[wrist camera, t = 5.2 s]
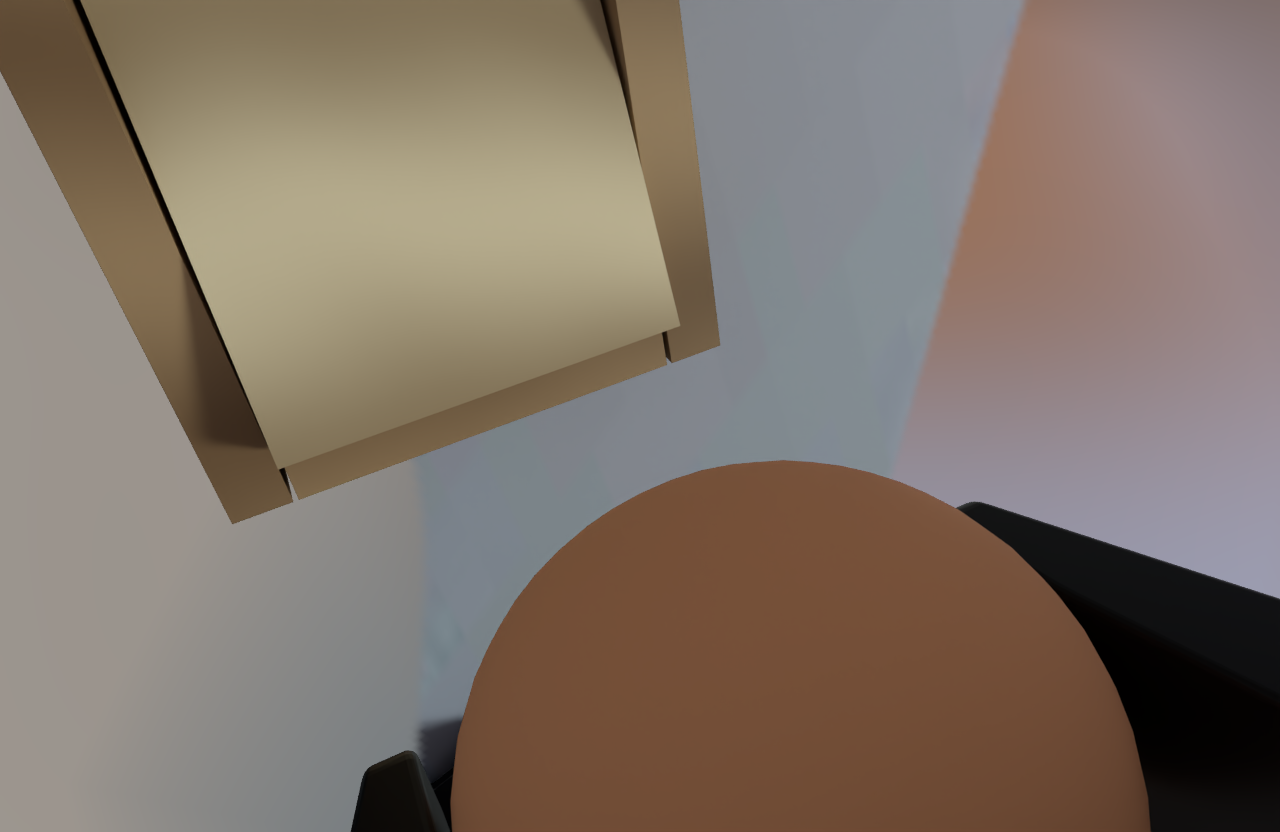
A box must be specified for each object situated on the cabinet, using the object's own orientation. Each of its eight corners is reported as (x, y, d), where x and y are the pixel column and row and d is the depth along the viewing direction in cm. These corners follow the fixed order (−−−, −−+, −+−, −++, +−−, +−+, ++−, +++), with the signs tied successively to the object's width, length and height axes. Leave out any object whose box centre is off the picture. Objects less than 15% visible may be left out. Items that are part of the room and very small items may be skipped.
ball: (754, 235, 8) (1332, 637, 4) (929, 567, 11) (1357, 977, 7) (259, 615, 8) (380, 1398, 4) (574, 845, 11) (816, 1415, 7)
